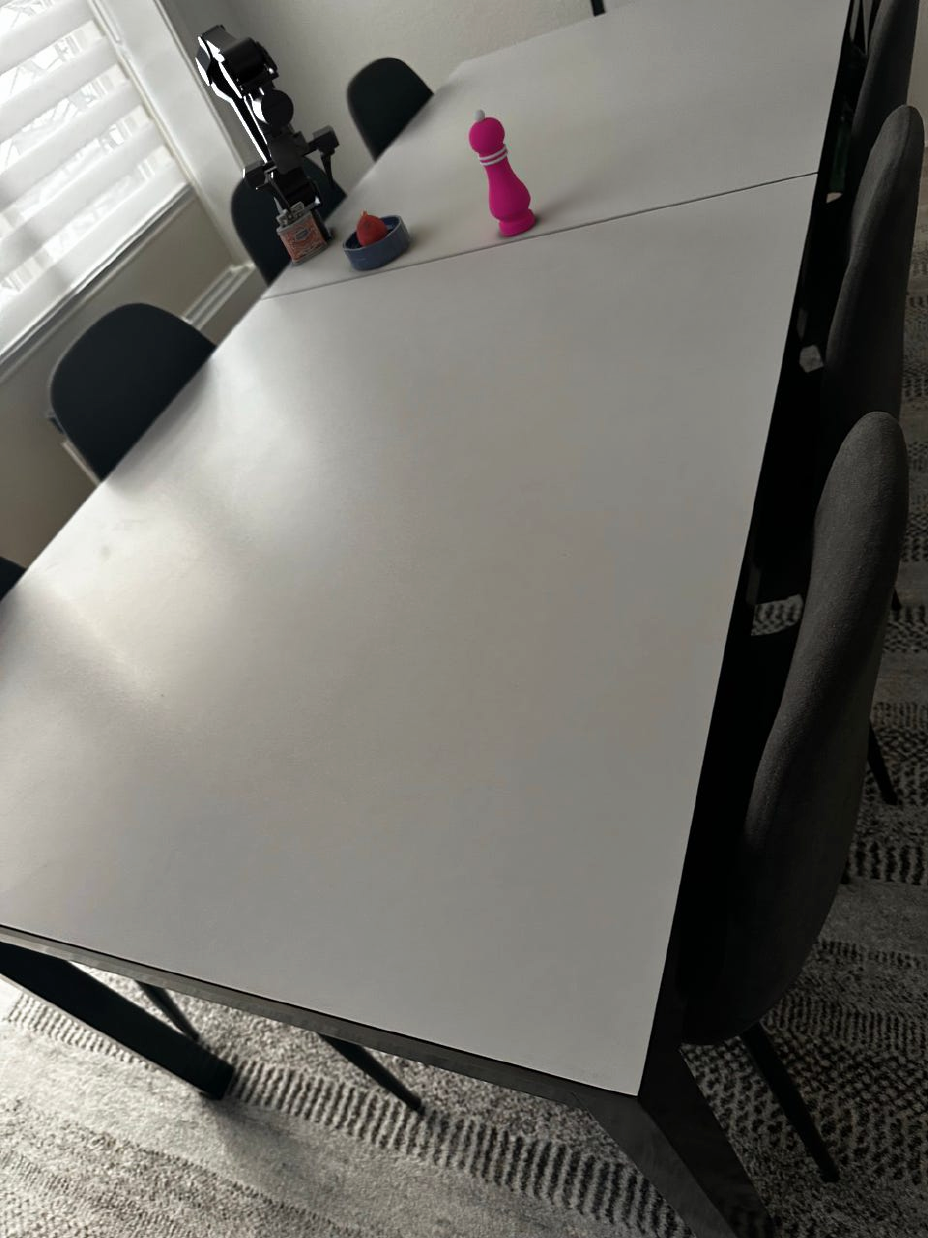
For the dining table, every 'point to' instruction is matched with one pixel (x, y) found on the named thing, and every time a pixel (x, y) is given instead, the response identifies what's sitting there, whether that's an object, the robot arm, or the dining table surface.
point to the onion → (370, 229)
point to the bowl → (378, 245)
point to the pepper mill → (501, 176)
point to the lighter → (300, 234)
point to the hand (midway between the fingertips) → (312, 201)
